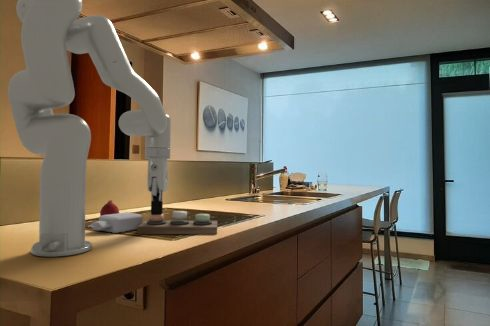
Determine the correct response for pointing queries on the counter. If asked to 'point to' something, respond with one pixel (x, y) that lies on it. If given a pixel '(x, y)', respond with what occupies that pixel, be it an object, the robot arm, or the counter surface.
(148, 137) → the robot arm
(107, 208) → the onion
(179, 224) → the button board
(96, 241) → the counter surface
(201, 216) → the sage button
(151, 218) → the terracotta button
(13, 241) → the counter surface
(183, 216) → the grey button
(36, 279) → the counter surface
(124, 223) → the white bottle
